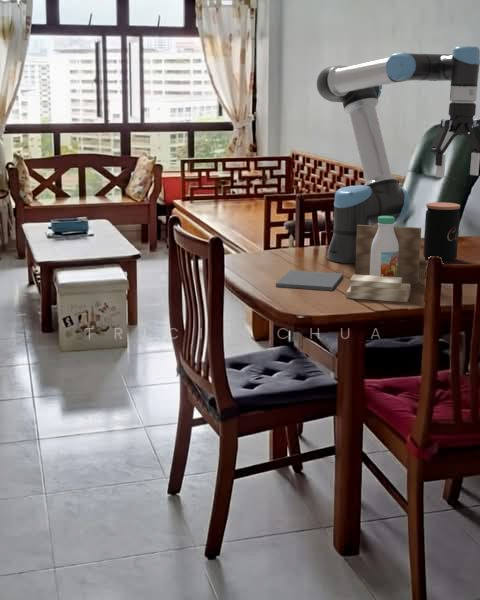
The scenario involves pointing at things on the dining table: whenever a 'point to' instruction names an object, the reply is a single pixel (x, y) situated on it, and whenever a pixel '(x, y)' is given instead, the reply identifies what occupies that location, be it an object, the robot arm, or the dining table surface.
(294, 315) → the dining table surface
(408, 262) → the offcut rack
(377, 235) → the milk bottle
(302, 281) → the charcoal mat
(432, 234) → the coffee jar
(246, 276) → the dining table surface
